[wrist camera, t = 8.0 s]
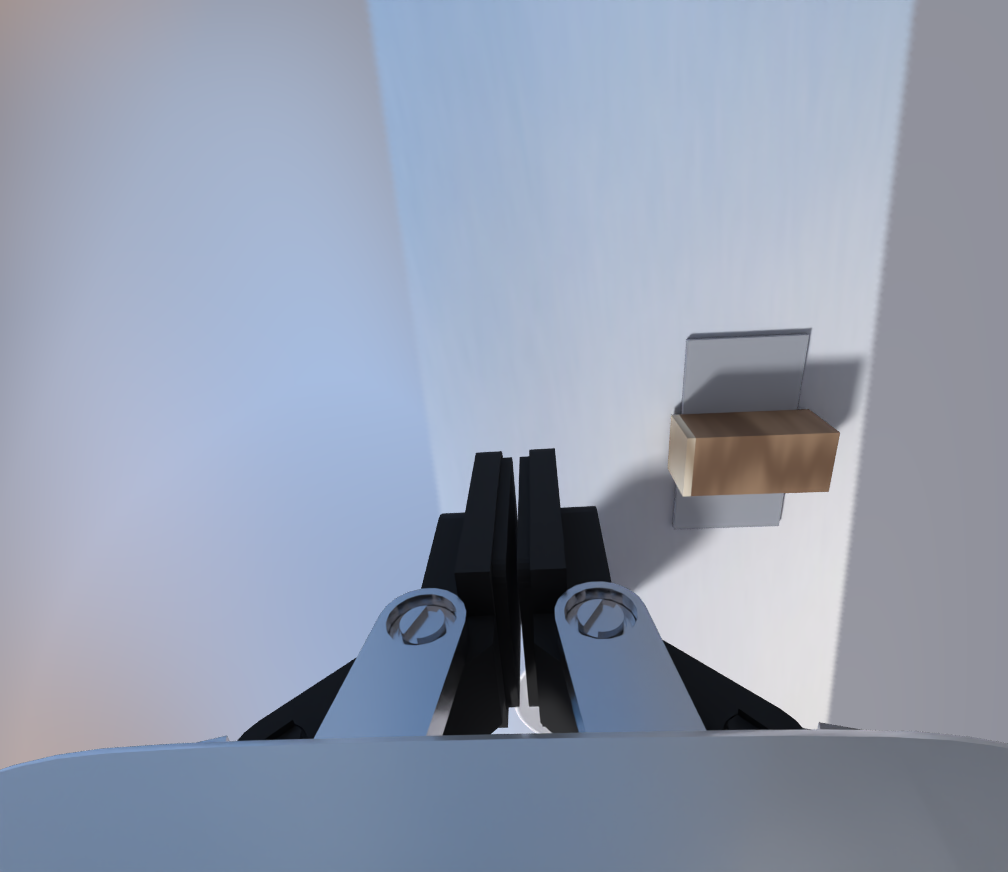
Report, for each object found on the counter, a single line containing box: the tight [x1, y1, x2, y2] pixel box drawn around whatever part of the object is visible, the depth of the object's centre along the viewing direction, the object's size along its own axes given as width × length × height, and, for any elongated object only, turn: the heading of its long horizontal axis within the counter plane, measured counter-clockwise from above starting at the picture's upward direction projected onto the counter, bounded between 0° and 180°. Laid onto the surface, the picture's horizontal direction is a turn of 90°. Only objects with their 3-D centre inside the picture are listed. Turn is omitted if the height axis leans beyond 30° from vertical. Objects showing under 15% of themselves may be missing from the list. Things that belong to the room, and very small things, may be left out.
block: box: [668, 409, 840, 497], centre depth 37 cm, size 4×4×9 cm
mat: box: [673, 334, 809, 529], centre depth 39 cm, size 14×8×1 cm, turn 3°
